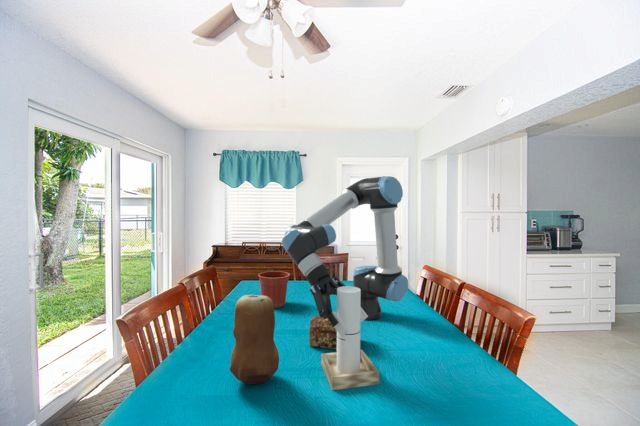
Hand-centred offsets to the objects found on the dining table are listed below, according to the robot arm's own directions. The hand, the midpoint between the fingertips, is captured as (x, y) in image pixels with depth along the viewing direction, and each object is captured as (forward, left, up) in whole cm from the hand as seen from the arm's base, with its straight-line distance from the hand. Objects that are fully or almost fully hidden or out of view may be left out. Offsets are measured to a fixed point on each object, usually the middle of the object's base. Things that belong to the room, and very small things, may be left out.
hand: (355, 326), depth 90 cm
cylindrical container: (+2, -2, -14) cm, 14 cm away
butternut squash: (+30, -4, -15) cm, 34 cm away
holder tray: (+2, -2, -15) cm, 15 cm away
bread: (0, -23, -16) cm, 28 cm away
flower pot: (+20, -73, -15) cm, 77 cm away
